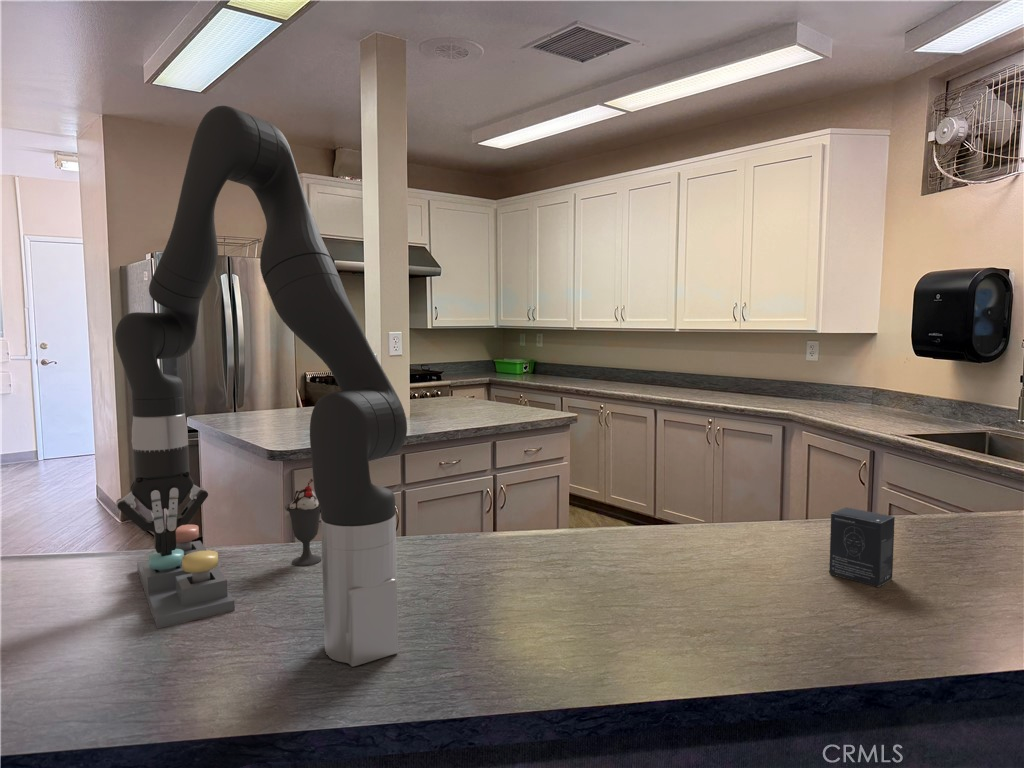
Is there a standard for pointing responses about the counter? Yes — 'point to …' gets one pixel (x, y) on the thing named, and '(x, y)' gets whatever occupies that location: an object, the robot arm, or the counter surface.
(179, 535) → the salmon orange dome button
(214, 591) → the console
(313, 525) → the sundae
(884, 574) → the box
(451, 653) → the counter surface
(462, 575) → the counter surface
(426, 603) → the counter surface
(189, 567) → the button ochre
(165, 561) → the button teal
